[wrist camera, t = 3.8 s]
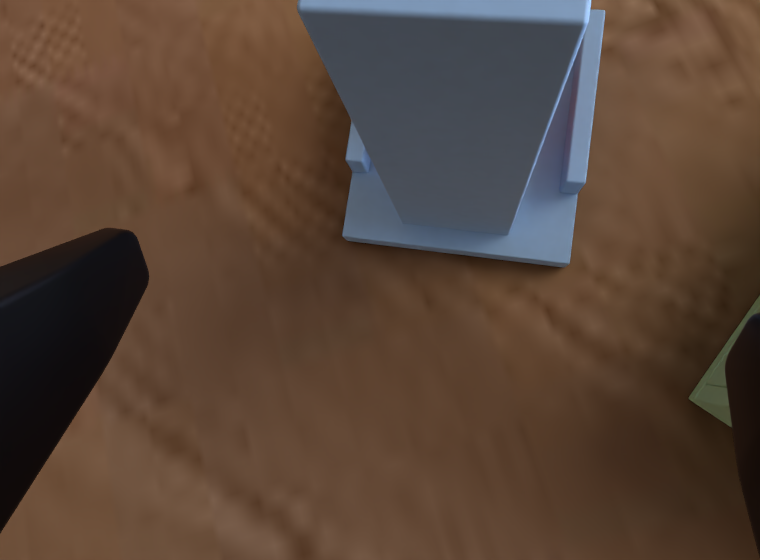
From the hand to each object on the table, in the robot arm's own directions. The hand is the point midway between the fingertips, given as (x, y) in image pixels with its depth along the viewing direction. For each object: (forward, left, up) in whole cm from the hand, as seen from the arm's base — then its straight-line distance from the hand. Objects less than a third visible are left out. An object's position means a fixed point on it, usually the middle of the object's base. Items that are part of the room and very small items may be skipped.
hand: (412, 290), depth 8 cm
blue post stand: (+5, +5, -11) cm, 12 cm away
